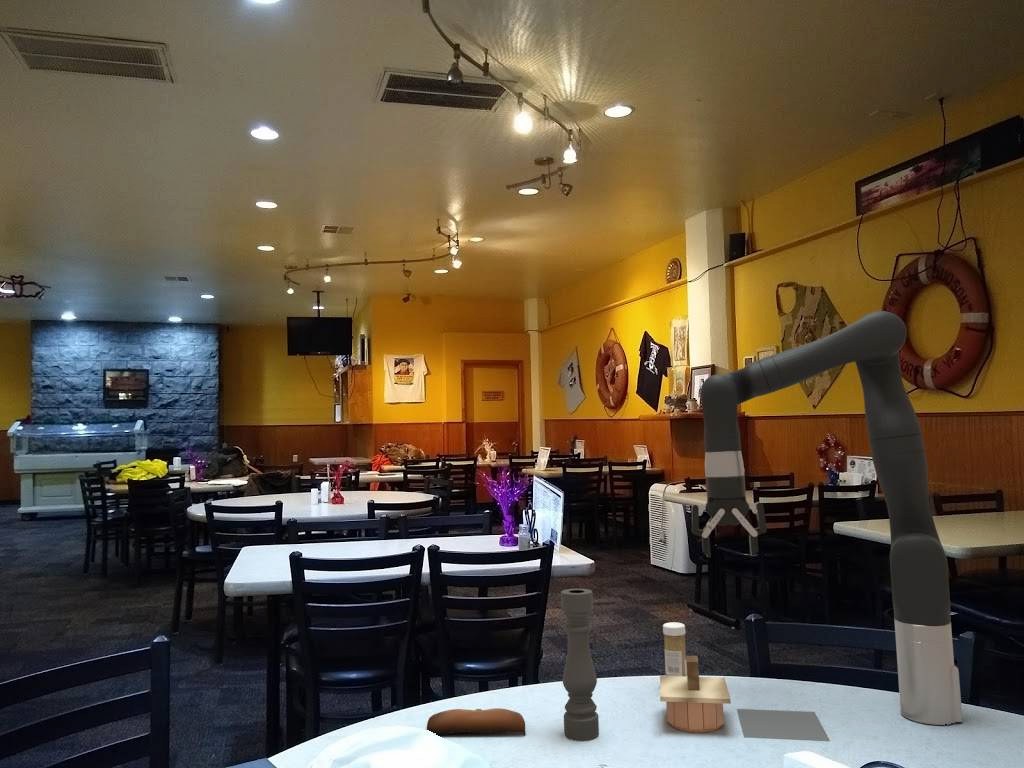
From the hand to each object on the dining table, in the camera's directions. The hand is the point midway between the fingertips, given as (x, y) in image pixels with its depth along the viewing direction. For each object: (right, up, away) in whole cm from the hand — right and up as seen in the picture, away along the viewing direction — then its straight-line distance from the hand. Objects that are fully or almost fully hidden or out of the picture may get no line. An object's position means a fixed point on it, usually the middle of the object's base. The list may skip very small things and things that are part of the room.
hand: (730, 556), depth 150 cm
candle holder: (-31, -28, -16) cm, 45 cm away
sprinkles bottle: (-9, -30, +6) cm, 32 cm away
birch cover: (-10, -22, -12) cm, 27 cm away
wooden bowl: (-10, -28, -13) cm, 32 cm away
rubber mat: (+5, -27, -15) cm, 31 cm away
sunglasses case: (-50, -30, -11) cm, 59 cm away
